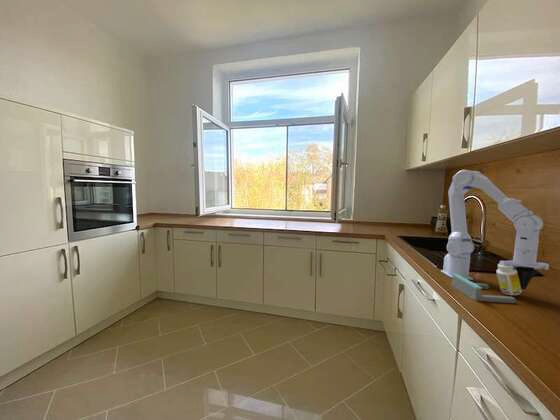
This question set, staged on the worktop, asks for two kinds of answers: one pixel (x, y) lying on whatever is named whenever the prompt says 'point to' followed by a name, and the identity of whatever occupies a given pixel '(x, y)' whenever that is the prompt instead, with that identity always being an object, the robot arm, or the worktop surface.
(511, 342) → the worktop surface
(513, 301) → the bay
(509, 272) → the supplement bottle
